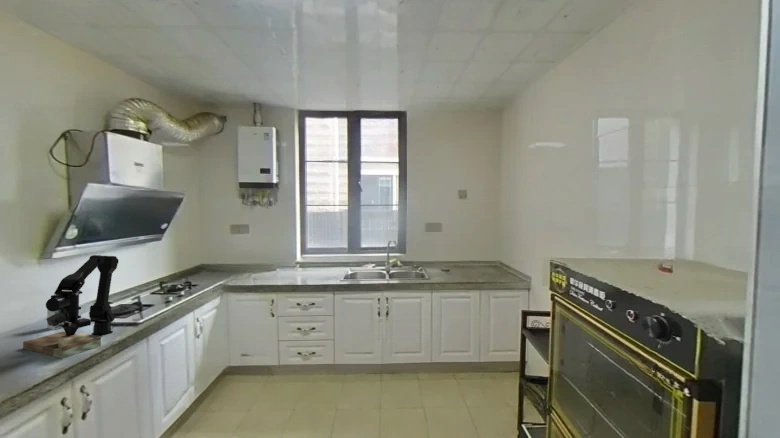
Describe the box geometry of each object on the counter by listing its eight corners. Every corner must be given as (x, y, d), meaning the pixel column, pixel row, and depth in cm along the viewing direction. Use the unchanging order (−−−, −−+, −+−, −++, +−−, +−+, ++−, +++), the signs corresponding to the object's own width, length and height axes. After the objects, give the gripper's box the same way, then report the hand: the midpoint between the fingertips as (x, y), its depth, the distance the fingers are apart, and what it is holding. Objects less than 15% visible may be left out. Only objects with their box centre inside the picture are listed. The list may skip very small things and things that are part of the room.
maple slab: (83, 340, 179) (83, 332, 179) (89, 342, 177) (89, 334, 177) (58, 346, 170) (58, 338, 170) (64, 348, 168) (64, 340, 168)
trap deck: (62, 337, 189) (63, 328, 189) (100, 345, 181) (100, 336, 180) (23, 348, 174) (23, 338, 173) (62, 358, 165) (62, 347, 165)
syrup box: (53, 330, 198) (54, 302, 198) (46, 328, 200) (47, 300, 200) (66, 327, 204) (66, 299, 203) (59, 325, 206) (60, 298, 205)
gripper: (36, 306, 170) (35, 341, 171) (64, 312, 164) (63, 348, 165) (64, 301, 181) (63, 334, 181) (92, 306, 175) (91, 340, 175)
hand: (69, 339), depth 175 cm, fingers closed
